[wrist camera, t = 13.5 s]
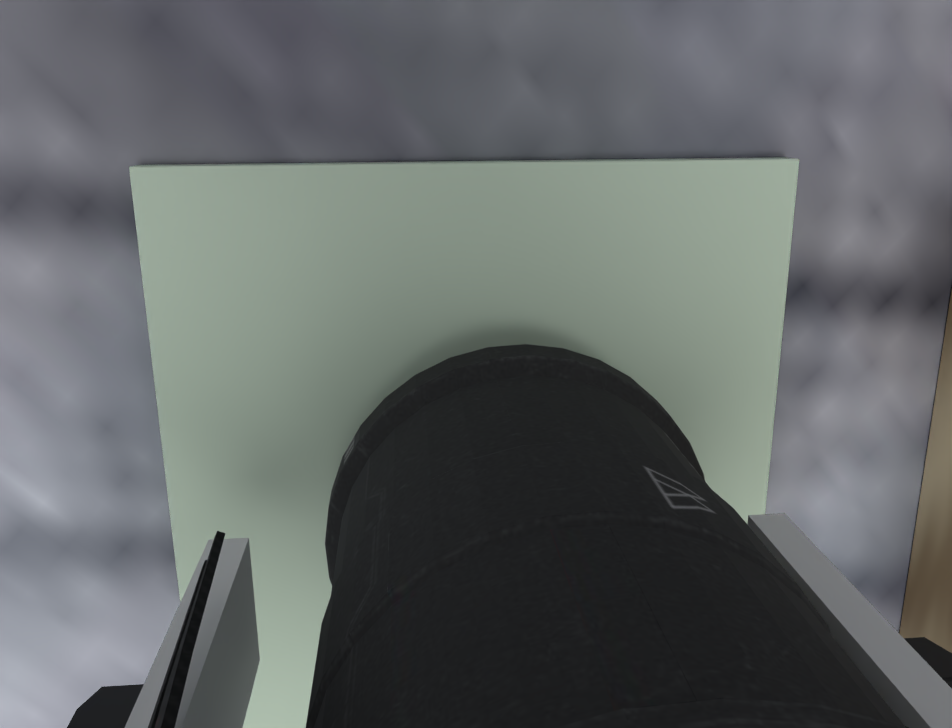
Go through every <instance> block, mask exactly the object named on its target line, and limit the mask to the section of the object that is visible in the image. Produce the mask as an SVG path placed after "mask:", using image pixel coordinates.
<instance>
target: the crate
mask: <svg viewBox="0 0 952 728" xmlns="http://www.w3.org/2000/svg"><path fill="white" fill-rule="evenodd" d="M899 634H900V635H901V636H902V637H903V638H917V637H925V638H927V639H928V640H930V641H932V642H934V643H935V644H937V645H939V646H940V647H942V648H944V649H946V650H947V651H949V652H951V653H952V290H951V297H950V303H949V310H948V316H947V323H946V329H945V336H944V343H943V349H942V356H941V362H940V369H939V376H938V382H937V389H936V395H935V402H934V408H933V415H932V422H931V428H930V435H929V441H928V448H927V455H926V461H925V468H924V474H923V481H922V487H921V494H920V501H919V507H918V514H917V520H916V527H915V533H914V540H913V547H912V553H911V560H910V566H909V573H908V580H907V586H906V593H905V599H904V606H903V612H902V619H901V626H900V632H899Z"/></svg>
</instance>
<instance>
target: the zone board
mask: <svg viewBox="0 0 952 728" xmlns="http://www.w3.org/2000/svg"><path fill="white" fill-rule="evenodd" d="M798 168H799V159H795V158H786V157H779V158H692V159H606V160H519V161H432V162H345V163H259V164H172V165H136V166H131V167H129V171H130V180H131V188H132V197H133V205H134V214H135V222H136V231H137V239H138V248H139V256H140V265H141V273H142V282H143V290H144V299H145V307H146V316H147V324H148V333H149V341H150V350H151V358H152V367H153V375H154V383H155V392H156V400H157V409H158V417H159V426H160V434H161V443H162V451H163V460H164V468H165V477H166V485H167V494H168V502H169V511H170V519H171V528H172V536H173V545H174V553H175V562H176V570H177V579H178V587H179V596H180V602H181V600H182V598H183V596H184V594H185V591H186V589H187V587H188V585H189V582H190V580H191V578H192V576H193V573H194V571H195V569H196V567H197V564H198V562H199V560H200V558H201V556H202V553H203V551H204V549H205V547H206V544H207V542H208V540H210V539H214V537H215V535H216V533H217V531H220V532H223V533H225V537H224V539H232V538H249V545H250V556H251V567H252V578H253V589H254V600H255V611H256V622H257V633H258V644H259V655H260V661H259V665H258V669H257V673H256V677H255V681H254V685H253V689H252V693H251V697H250V701H249V704H248V708H247V712H246V716H245V720H244V724H243V728H306V722H307V715H308V709H309V702H310V696H311V689H312V683H313V676H314V670H315V663H316V657H317V650H318V644H319V637H320V631H321V624H322V621H323V618H324V615H325V612H326V609H327V606H328V603H329V600H330V597H331V591H332V584H331V582H330V579H329V573H328V565H327V557H326V548H325V537H326V527H327V517H328V507H329V502H330V496H331V491H332V487H333V484H334V481H335V478H336V475H337V472H338V469H339V466H340V463H341V460H342V457H343V455H344V453H345V451H346V450H347V448H348V446H349V444H350V443H351V441H352V439H353V438H354V436H355V434H356V432H357V431H358V429H359V427H360V425H361V424H362V423H363V422H364V421H365V420H366V419H367V418H368V416H369V415H370V414H371V413H372V412H373V411H374V410H375V409H376V407H377V406H378V405H379V404H380V403H381V402H382V401H383V399H384V398H385V397H387V396H388V395H389V394H391V393H392V392H393V391H395V390H396V389H397V388H398V387H400V386H401V385H402V384H404V383H405V382H406V381H408V380H409V379H410V378H412V377H413V376H414V375H416V374H418V373H420V372H422V371H424V370H426V369H428V368H430V367H432V366H434V365H436V364H438V363H440V362H442V361H444V360H446V359H448V358H450V357H454V356H457V355H461V354H465V353H468V352H472V351H476V350H479V349H483V348H486V347H496V346H508V345H521V344H530V345H539V346H548V347H557V348H564V349H568V350H571V351H574V352H577V353H580V354H583V355H586V356H590V357H593V358H596V359H599V360H601V361H603V362H604V363H606V364H608V365H610V366H612V367H613V368H615V369H617V370H619V371H621V372H622V373H624V374H626V375H628V376H629V377H631V378H632V379H633V380H634V381H636V382H637V383H638V384H639V385H640V386H641V387H642V388H644V389H645V390H646V391H647V392H648V393H649V394H650V395H652V396H653V397H654V398H655V399H656V400H657V401H658V402H659V403H660V404H661V405H662V407H663V408H664V409H665V410H666V411H667V412H668V413H669V415H670V416H671V417H672V419H673V420H674V421H675V423H676V424H677V425H678V427H679V428H680V430H681V431H682V432H683V434H684V435H685V436H686V438H687V439H688V440H689V442H690V444H691V446H692V448H693V450H694V453H695V455H696V457H697V460H698V462H699V464H700V466H701V469H702V471H703V473H704V477H705V482H706V483H707V484H708V486H709V487H710V488H711V489H712V490H713V491H714V492H715V493H716V494H718V495H719V496H720V497H721V498H722V499H723V500H725V501H726V502H727V503H728V504H729V505H730V506H732V507H733V508H734V509H735V510H736V512H737V513H738V514H739V515H740V516H741V518H742V519H743V520H744V521H745V522H746V523H748V515H762V514H765V508H766V498H767V488H768V477H769V467H770V457H771V446H772V436H773V426H774V415H775V405H776V395H777V384H778V374H779V364H780V354H781V343H782V333H783V323H784V312H785V302H786V292H787V281H788V271H789V261H790V250H791V240H792V230H793V219H794V209H795V199H796V188H797V178H798Z"/></svg>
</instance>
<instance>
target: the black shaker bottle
mask: <svg viewBox="0 0 952 728" xmlns="http://www.w3.org/2000/svg"><path fill="white" fill-rule="evenodd" d="M224 537H225V533H223V532H220V531H217V533H216V535H215V537H214V540H213V544H212V547H211V550H210V553H209V556H208V559H207V560H205V561H204V564H203V566H202V569H201V572H200V575H199V578H198V581H197V584H196V587H195V590H194V593H193V596H192V599H191V602H190V605H189V607H188V610H187V613H186V616H185V619H184V622H183V625H182V628H181V631H180V634H179V637H178V640H177V643H176V646H175V649H174V652H173V655H172V658H171V661H170V664H169V666H168V669H167V672H166V675H165V678H164V681H163V684H162V687H161V690H160V693H159V696H158V699H157V702H156V705H155V708H154V711H153V714H152V717H151V720H150V723H149V725H148V728H175V724H176V720H177V716H178V712H179V708H180V703H181V699H182V695H183V691H184V687H185V683H186V679H187V675H188V670H189V666H190V662H191V658H192V654H193V650H194V647H195V643H196V639H197V636H198V632H199V628H200V625H201V621H202V617H203V614H204V610H205V606H206V603H207V599H208V595H209V592H210V588H211V585H212V581H213V577H214V574H215V570H216V566H217V563H218V559H219V555H220V552H221V548H222V544H223V541H224ZM325 548H326V557H327V565H328V573H329V579H330V582H331V584H332V591H331V597H330V600H329V603H328V606H327V609H326V612H325V615H324V618H323V621H322V624H321V631H320V637H319V644H318V650H317V657H316V663H315V670H314V676H313V683H312V689H311V696H310V702H309V709H308V715H307V722H306V728H909V727H907V726H905V725H904V724H903V722H902V721H901V720H900V719H899V718H898V716H897V715H896V714H895V713H894V711H893V710H892V709H891V708H890V707H889V705H888V704H887V703H886V702H885V700H884V699H883V698H882V697H881V696H880V694H879V693H878V692H877V691H876V689H875V688H874V687H873V686H872V685H871V683H870V682H869V681H868V680H867V678H866V677H865V676H864V675H863V674H862V672H861V671H860V670H859V669H858V667H857V666H856V665H855V664H854V663H853V661H852V660H851V659H850V658H849V656H848V655H847V654H846V653H845V652H844V650H843V649H842V648H841V647H840V645H839V644H838V643H837V642H836V641H835V639H834V638H833V637H832V634H831V632H830V629H829V627H828V625H827V624H826V622H825V621H824V620H823V618H822V617H821V615H820V614H819V613H818V611H817V610H816V609H815V607H814V606H813V605H812V603H811V602H810V600H809V599H808V598H807V596H806V595H805V594H804V592H803V591H802V590H801V588H800V587H799V586H798V585H797V583H796V582H795V581H794V580H793V579H792V577H791V576H790V575H789V574H788V573H787V571H786V570H785V569H784V568H783V567H782V565H781V564H780V563H779V562H778V561H777V559H776V558H775V557H774V556H773V555H772V553H771V552H770V551H769V550H768V549H767V547H766V546H765V545H764V544H763V543H762V541H761V540H760V539H759V538H758V537H757V535H756V534H755V533H754V532H753V531H752V529H751V528H750V527H749V526H748V525H747V523H746V522H745V521H744V520H743V519H742V518H741V516H740V515H739V514H738V513H737V512H736V510H735V509H734V508H733V507H732V506H730V505H729V504H728V503H727V502H726V501H725V500H723V499H722V498H721V497H720V496H719V495H718V494H716V493H715V492H714V491H713V490H712V489H711V488H710V487H709V486H708V484H707V483H706V482H705V477H704V473H703V471H702V469H701V466H700V464H699V462H698V460H697V457H696V455H695V453H694V450H693V448H692V446H691V444H690V442H689V440H688V439H687V438H686V436H685V435H684V434H683V432H682V431H681V430H680V428H679V427H678V425H677V424H676V423H675V421H674V420H673V419H672V417H671V416H670V415H669V413H668V412H667V411H666V410H665V409H664V408H663V407H662V405H661V404H660V403H659V402H658V401H657V400H656V399H655V398H654V397H653V396H652V395H650V394H649V393H648V392H647V391H646V390H645V389H644V388H642V387H641V386H640V385H639V384H638V383H637V382H636V381H634V380H633V379H632V378H631V377H629V376H628V375H626V374H624V373H622V372H621V371H619V370H617V369H615V368H613V367H612V366H610V365H608V364H606V363H604V362H603V361H601V360H599V359H596V358H593V357H590V356H586V355H583V354H580V353H577V352H574V351H571V350H568V349H564V348H557V347H548V346H539V345H530V344H521V345H508V346H496V347H486V348H483V349H479V350H476V351H472V352H468V353H465V354H461V355H457V356H454V357H450V358H448V359H446V360H444V361H442V362H440V363H438V364H436V365H434V366H432V367H430V368H428V369H426V370H424V371H422V372H420V373H418V374H416V375H414V376H413V377H412V378H410V379H409V380H408V381H406V382H405V383H404V384H402V385H401V386H400V387H398V388H397V389H396V390H395V391H393V392H392V393H391V394H389V395H388V396H387V397H385V398H384V399H383V401H382V402H381V403H380V404H379V405H378V406H377V407H376V409H375V410H374V411H373V412H372V413H371V414H370V415H369V416H368V418H367V419H366V420H365V421H364V422H363V423H362V424H361V425H360V427H359V429H358V431H357V432H356V434H355V436H354V438H353V439H352V441H351V443H350V444H349V446H348V448H347V450H346V451H345V453H344V455H343V457H342V460H341V463H340V466H339V469H338V472H337V475H336V478H335V481H334V484H333V487H332V491H331V496H330V502H329V507H328V517H327V527H326V537H325Z"/></svg>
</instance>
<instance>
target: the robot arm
mask: <svg viewBox="0 0 952 728" xmlns="http://www.w3.org/2000/svg"><path fill="white" fill-rule="evenodd" d="M747 525H748V526H749V527H750V528H751V529H752V531H753V532H754V533H755V534H756V535H757V537H758V538H759V539H760V540H761V541H762V543H763V544H764V545H765V546H766V547H767V549H768V550H769V551H770V552H771V553H772V555H773V556H774V557H775V558H776V559H777V561H778V562H779V563H780V564H781V565H782V567H783V568H784V569H785V570H786V571H787V573H788V574H789V575H790V576H791V577H792V579H793V580H794V581H795V582H796V583H797V585H798V586H799V587H800V588H801V590H802V591H803V592H804V594H805V595H806V596H807V598H808V599H809V600H810V602H811V603H812V605H813V606H814V607H815V609H816V610H817V611H818V613H819V614H820V615H821V617H822V618H823V620H824V621H825V622H826V624H827V625H828V627H829V629H830V632H831V634H832V637H833V638H834V639H835V641H836V642H837V643H838V644H839V645H840V647H841V648H842V649H843V650H844V652H845V653H846V654H847V655H848V656H849V658H850V659H851V660H852V661H853V663H854V664H855V665H856V666H857V667H858V669H859V670H860V671H861V672H862V674H863V675H864V676H865V677H866V678H867V680H868V681H869V682H870V683H871V685H872V686H873V687H874V688H875V689H876V691H877V692H878V693H879V694H880V696H881V697H882V698H883V699H884V700H885V702H886V703H887V704H888V705H889V707H890V708H891V709H892V710H893V711H894V713H895V714H896V715H897V716H898V718H899V719H900V720H901V721H902V722H903V724H904V725H905V726H907V727H909V728H952V653H951V652H949V651H947V650H946V649H944V648H942V647H940V646H939V645H937V644H935V643H934V642H932V641H930V640H928V639H927V638H925V637H917V638H903V637H902V636H901V635H900V634H899V633H898V632H897V631H896V630H895V629H894V628H893V627H892V626H891V624H890V623H889V622H888V621H887V620H886V619H885V618H884V617H883V616H882V615H881V614H880V613H879V612H878V611H877V610H876V609H875V608H874V607H873V606H872V605H871V603H870V602H869V601H868V600H867V599H866V598H865V597H864V596H863V595H862V594H861V593H860V592H859V591H858V590H857V589H856V588H855V587H854V586H853V585H852V584H851V583H850V581H849V580H848V579H847V578H846V577H845V576H844V575H843V574H842V573H841V572H840V571H839V570H838V569H837V568H836V567H835V566H834V565H833V564H832V563H831V562H830V560H829V559H828V558H827V557H826V556H825V555H824V554H823V553H822V552H821V551H820V550H819V549H818V548H817V547H816V546H815V545H814V544H813V543H812V542H811V541H810V540H809V538H808V537H807V536H806V535H805V534H804V533H803V532H802V531H801V530H800V529H799V528H798V527H797V526H796V525H795V524H794V523H793V522H792V521H791V520H790V519H789V517H788V516H787V515H786V514H785V513H784V514H762V515H748V523H747ZM213 540H214V539H210V540H208V542H207V544H206V547H205V549H204V551H203V553H202V556H201V558H200V560H199V562H198V564H197V567H196V569H195V571H194V573H193V576H192V578H191V580H190V582H189V585H188V587H187V589H186V591H185V594H184V596H183V598H182V600H181V602H180V605H179V607H178V609H177V611H176V614H175V616H174V618H173V620H172V623H171V625H170V627H169V629H168V632H167V634H166V636H165V638H164V640H163V643H162V645H161V647H160V649H159V652H158V654H157V656H156V658H155V661H154V663H153V665H152V667H151V670H150V672H149V674H148V676H147V679H146V681H145V683H144V684H142V685H125V686H108V687H101V688H100V689H99V690H98V691H97V692H96V693H95V694H94V695H92V696H91V697H90V698H89V699H88V700H87V701H86V702H85V703H83V704H82V705H81V706H80V707H79V708H78V709H77V710H76V712H75V714H74V716H73V718H72V719H71V721H70V723H69V725H68V727H67V728H148V725H149V723H150V720H151V717H152V714H153V711H154V708H155V705H156V702H157V699H158V696H159V693H160V690H161V687H162V684H163V681H164V678H165V675H166V672H167V669H168V666H169V664H170V661H171V658H172V655H173V652H174V649H175V646H176V643H177V640H178V637H179V634H180V631H181V628H182V625H183V622H184V619H185V616H186V613H187V610H188V607H189V605H190V602H191V599H192V596H193V593H194V590H195V587H196V584H197V581H198V578H199V575H200V572H201V569H202V566H203V564H204V561H205V560H207V559H208V556H209V553H210V550H211V547H212V544H213ZM259 661H260V655H259V644H258V633H257V622H256V611H255V600H254V589H253V578H252V567H251V556H250V545H249V538H232V539H224V541H223V544H222V548H221V552H220V555H219V559H218V563H217V566H216V570H215V574H214V577H213V581H212V585H211V588H210V592H209V595H208V599H207V603H206V606H205V610H204V614H203V617H202V621H201V625H200V628H199V632H198V636H197V639H196V643H195V647H194V650H193V654H192V658H191V662H190V666H189V670H188V675H187V679H186V683H185V687H184V691H183V695H182V699H181V703H180V708H179V712H178V716H177V720H176V724H175V728H243V724H244V720H245V716H246V712H247V708H248V704H249V701H250V697H251V693H252V689H253V685H254V681H255V677H256V673H257V669H258V665H259Z"/></svg>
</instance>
